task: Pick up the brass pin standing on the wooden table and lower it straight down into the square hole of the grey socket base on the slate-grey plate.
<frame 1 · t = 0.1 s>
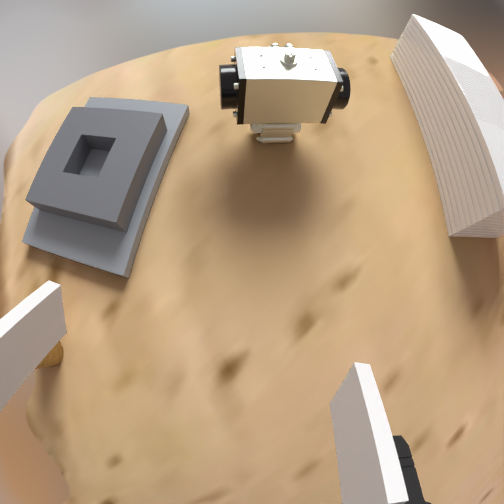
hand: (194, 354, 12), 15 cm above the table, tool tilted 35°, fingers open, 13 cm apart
pneumatic valve: (272, 130, 32), on the table
brass pin: (51, 350, 25), on the table
grey socket base: (104, 175, 30), on the table
stack of papers: (444, 135, 35), on the table
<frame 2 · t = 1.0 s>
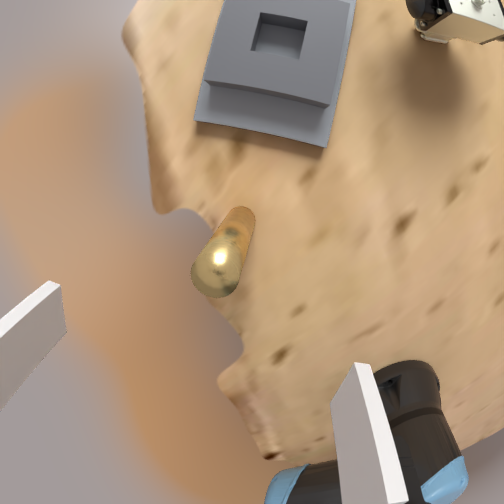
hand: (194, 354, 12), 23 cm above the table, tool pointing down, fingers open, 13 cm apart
pneumatic valve: (429, 28, 23), on the table
brass pin: (241, 220, 34), on the table
grey socket base: (279, 48, 27), on the table
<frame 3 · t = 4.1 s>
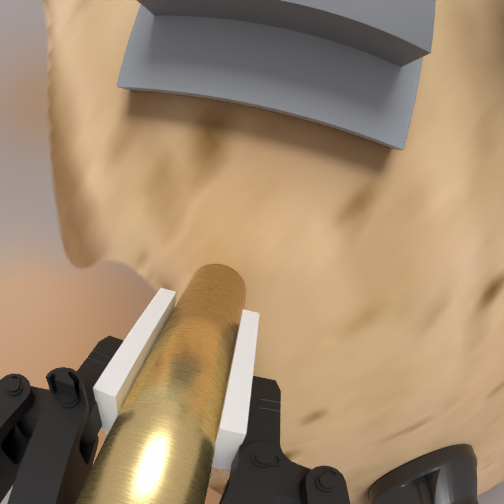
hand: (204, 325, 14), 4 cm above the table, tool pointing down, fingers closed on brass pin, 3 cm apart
brass pin: (217, 289, 17), on the table, touching gripper
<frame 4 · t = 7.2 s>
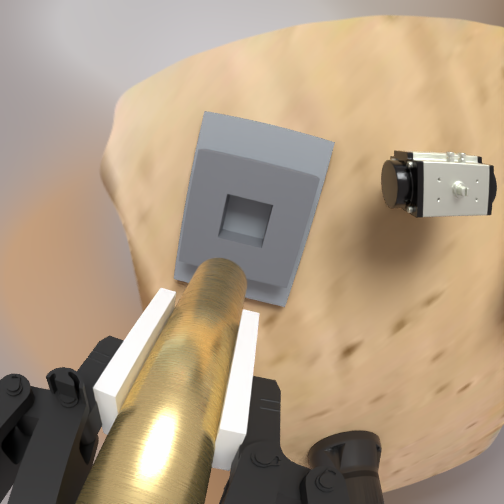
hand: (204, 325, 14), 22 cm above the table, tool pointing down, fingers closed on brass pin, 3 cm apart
pneumatic valve: (409, 170, 31), on the table
brass pin: (220, 282, 18), point 17 cm above the table, touching gripper
grey socket base: (248, 211, 34), on the table
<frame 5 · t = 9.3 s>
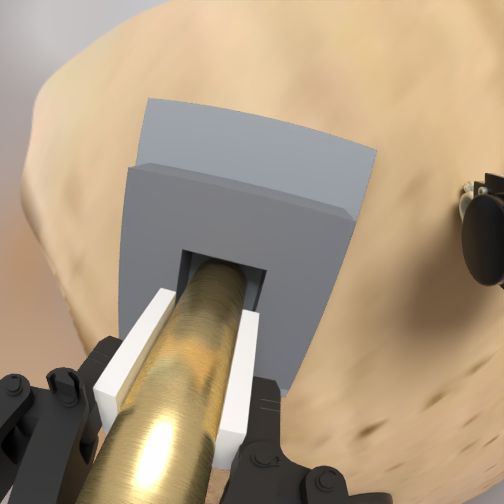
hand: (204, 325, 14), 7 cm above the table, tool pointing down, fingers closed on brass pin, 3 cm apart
pneumatic valve: (478, 197, 17), on the table
brass pin: (220, 282, 18), point 3 cm above the table, touching gripper
grey socket base: (228, 265, 21), on the table
when the fingers open (6 cm above the table, at t = 10.5 s): brass pin stays where it is, resting on grey socket base.
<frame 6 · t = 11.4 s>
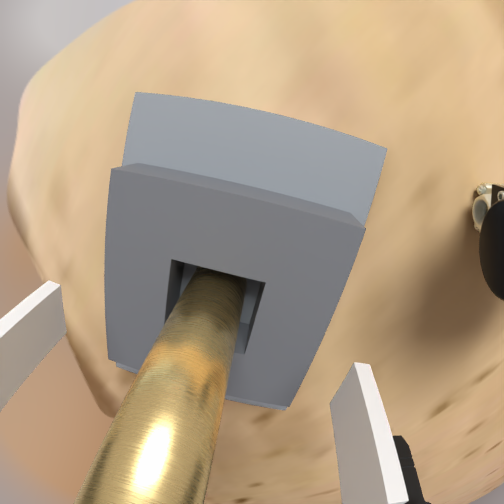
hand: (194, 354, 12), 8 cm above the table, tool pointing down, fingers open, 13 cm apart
pneumatic valve: (491, 199, 16), on the table
brass pin: (219, 282, 18), point 2 cm above the table, touching grey socket base
grey socket base: (223, 273, 19), on the table
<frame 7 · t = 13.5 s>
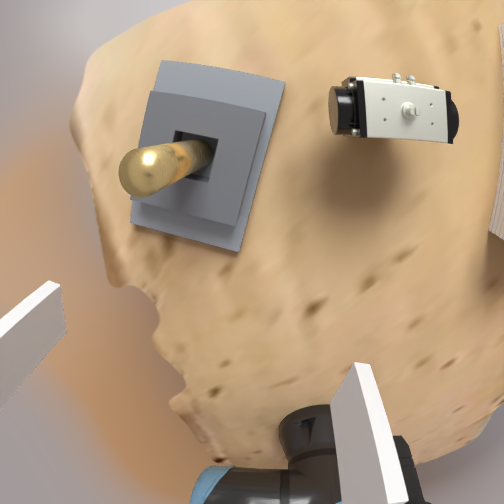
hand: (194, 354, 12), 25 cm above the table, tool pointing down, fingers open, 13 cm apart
pneumatic valve: (369, 112, 29), on the table
brass pin: (198, 153, 31), point 2 cm above the table, touching grey socket base
grey socket base: (202, 153, 33), on the table
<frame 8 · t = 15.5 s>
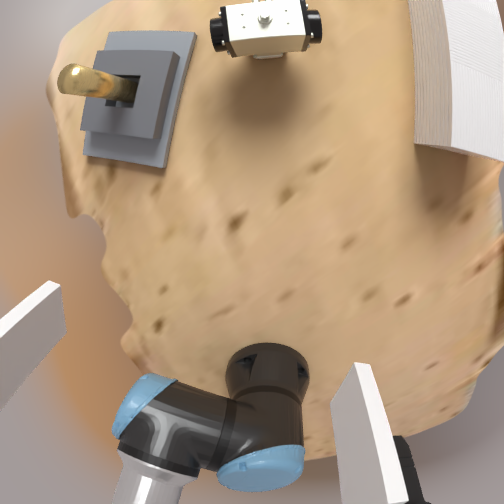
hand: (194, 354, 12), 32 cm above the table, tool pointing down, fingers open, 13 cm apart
pneumatic valve: (267, 45, 33), on the table
brass pin: (131, 92, 35), point 2 cm above the table, touching grey socket base
grey socket base: (136, 94, 37), on the table
stack of papers: (440, 52, 30), on the table
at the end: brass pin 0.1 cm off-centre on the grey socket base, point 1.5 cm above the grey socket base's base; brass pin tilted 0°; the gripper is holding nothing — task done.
